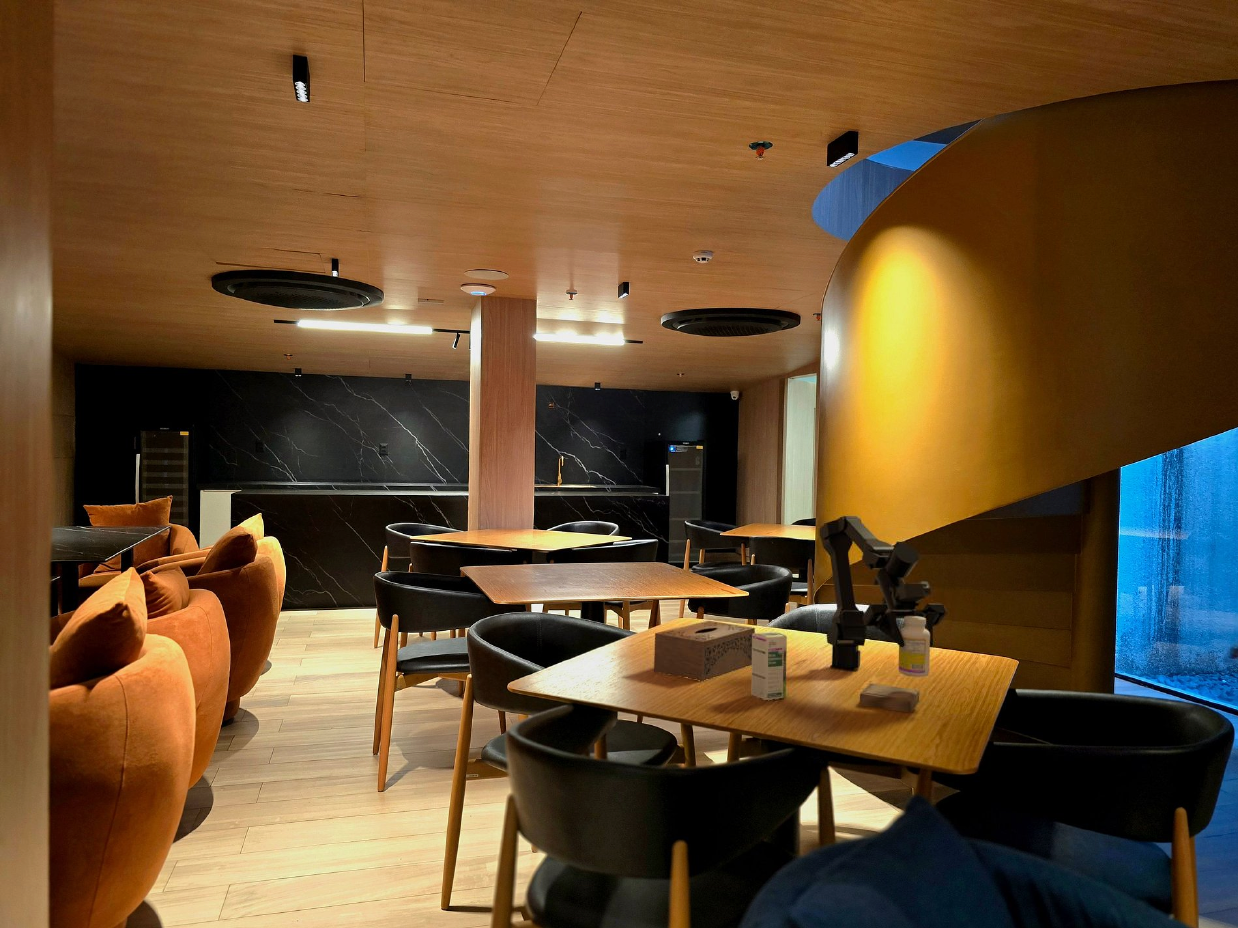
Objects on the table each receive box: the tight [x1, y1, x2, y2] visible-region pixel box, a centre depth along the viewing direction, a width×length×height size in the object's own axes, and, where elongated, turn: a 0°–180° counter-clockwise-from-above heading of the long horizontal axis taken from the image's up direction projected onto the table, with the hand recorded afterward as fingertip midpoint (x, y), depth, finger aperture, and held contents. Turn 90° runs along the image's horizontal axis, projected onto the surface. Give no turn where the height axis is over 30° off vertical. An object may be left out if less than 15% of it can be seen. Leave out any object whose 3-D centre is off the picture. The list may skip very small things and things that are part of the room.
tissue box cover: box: [653, 620, 756, 682], centre depth 221 cm, size 26×14×10 cm, turn 142°
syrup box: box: [750, 631, 788, 701], centre depth 194 cm, size 6×6×14 cm
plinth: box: [859, 682, 920, 714], centre depth 192 cm, size 11×11×3 cm
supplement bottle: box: [898, 616, 931, 678], centre depth 193 cm, size 7×7×13 cm
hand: (917, 646), depth 191 cm, fingers closed on supplement bottle, 7 cm apart
